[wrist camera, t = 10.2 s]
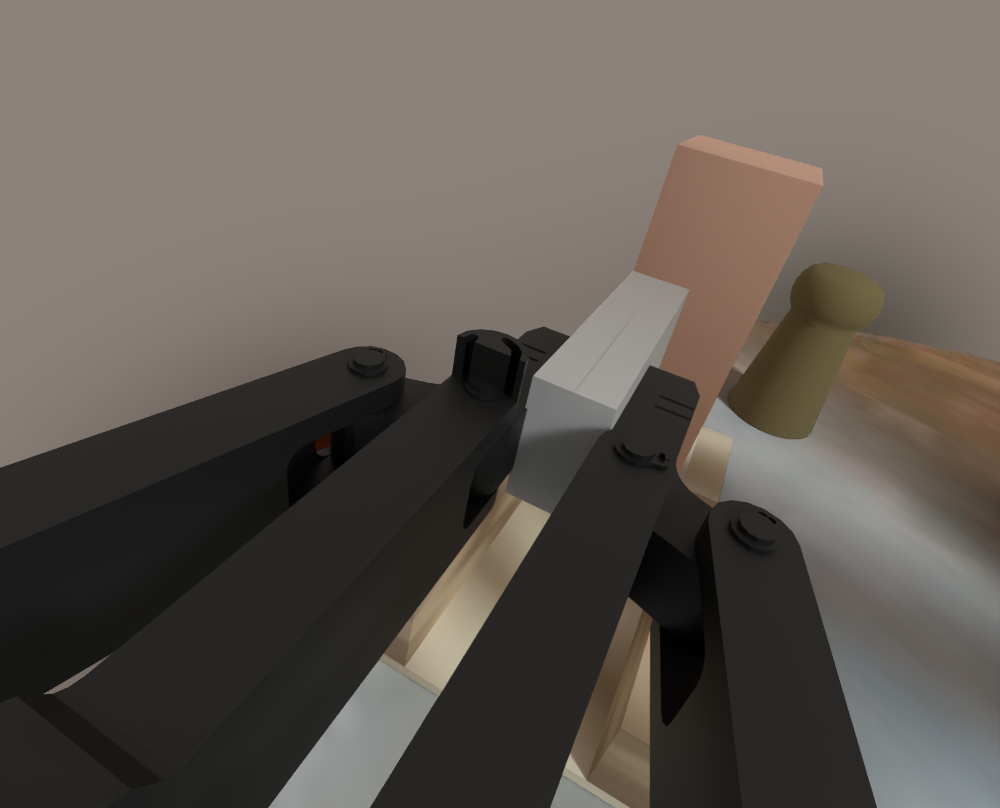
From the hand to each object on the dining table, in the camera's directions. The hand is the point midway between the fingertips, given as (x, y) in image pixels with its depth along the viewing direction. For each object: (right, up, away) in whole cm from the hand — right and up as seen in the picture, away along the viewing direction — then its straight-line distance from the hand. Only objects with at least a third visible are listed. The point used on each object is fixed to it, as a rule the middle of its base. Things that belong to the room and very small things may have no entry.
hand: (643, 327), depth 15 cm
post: (+4, -4, +20) cm, 21 cm away
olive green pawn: (+16, -3, +26) cm, 31 cm away
